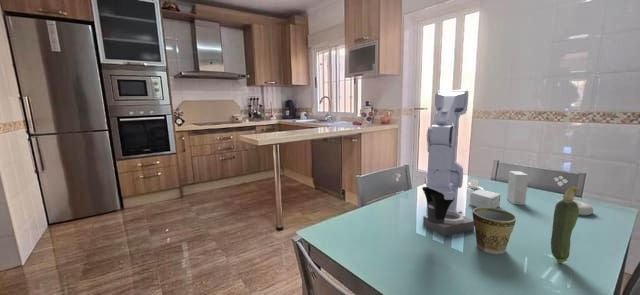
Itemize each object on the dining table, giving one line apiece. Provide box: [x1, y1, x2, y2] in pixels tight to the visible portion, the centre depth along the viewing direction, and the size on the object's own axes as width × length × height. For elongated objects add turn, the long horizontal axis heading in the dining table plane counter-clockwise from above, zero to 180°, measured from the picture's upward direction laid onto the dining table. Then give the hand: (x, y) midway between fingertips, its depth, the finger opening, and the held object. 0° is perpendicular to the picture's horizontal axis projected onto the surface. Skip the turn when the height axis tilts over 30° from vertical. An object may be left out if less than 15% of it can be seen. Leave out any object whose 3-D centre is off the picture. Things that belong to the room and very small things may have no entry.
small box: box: [468, 188, 502, 208], centre depth 106 cm, size 8×8×5 cm
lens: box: [427, 201, 444, 224], centre depth 77 cm, size 4×4×5 cm
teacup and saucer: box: [463, 179, 485, 191], centre depth 127 cm, size 9×8×4 cm
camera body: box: [422, 210, 475, 238], centre depth 88 cm, size 9×12×4 cm
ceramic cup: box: [472, 207, 517, 255], centre depth 76 cm, size 13×10×10 cm
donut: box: [555, 199, 594, 216], centre depth 99 cm, size 10×4×10 cm
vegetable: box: [550, 185, 580, 265], centre depth 67 cm, size 4×4×20 cm
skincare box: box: [506, 170, 529, 206], centre depth 108 cm, size 6×4×12 cm
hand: (436, 215), depth 77 cm, fingers closed on lens, 4 cm apart
